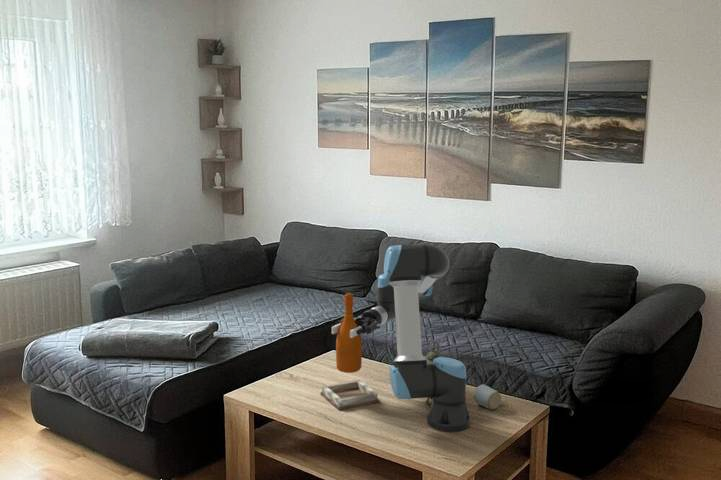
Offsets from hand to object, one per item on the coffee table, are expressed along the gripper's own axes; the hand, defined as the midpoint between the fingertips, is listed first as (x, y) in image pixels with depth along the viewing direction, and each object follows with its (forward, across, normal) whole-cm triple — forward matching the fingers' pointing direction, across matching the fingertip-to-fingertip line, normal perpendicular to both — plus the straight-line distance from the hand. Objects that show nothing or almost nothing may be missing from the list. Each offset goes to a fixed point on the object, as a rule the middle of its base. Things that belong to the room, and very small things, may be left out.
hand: (341, 332), depth 285 cm
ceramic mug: (-29, -48, -28) cm, 63 cm away
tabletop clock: (-18, -29, -28) cm, 44 cm away
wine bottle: (-5, 0, -16) cm, 17 cm away
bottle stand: (-5, 0, -28) cm, 28 cm away
